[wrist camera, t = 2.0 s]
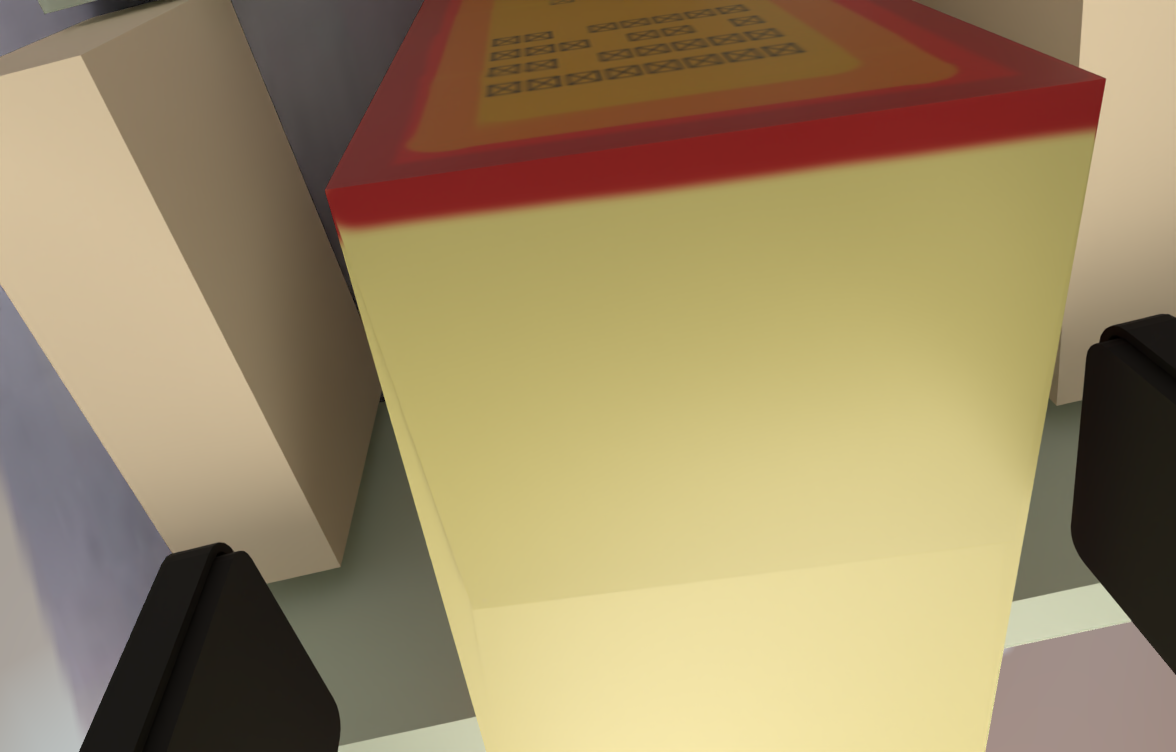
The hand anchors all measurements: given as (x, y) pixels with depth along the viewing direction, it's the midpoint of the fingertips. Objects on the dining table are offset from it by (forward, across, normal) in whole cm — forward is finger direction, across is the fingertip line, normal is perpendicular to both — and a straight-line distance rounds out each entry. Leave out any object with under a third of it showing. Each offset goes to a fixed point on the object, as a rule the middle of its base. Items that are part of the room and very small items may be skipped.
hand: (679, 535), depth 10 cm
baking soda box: (+16, -1, 0) cm, 16 cm away
